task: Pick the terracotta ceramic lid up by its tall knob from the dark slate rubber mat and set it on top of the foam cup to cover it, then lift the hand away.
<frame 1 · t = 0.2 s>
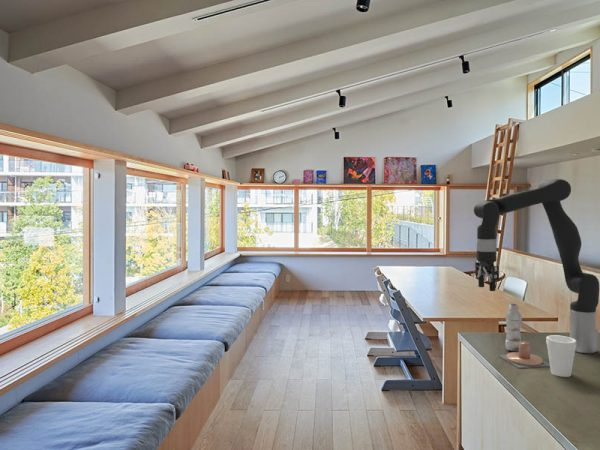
hand: (486, 289, 178), 28 cm above the kitchen island, fingers open, 8 cm apart
lid: (524, 351, 173), on the mat
foam cup: (560, 374, 160), on the kitchen island
mat: (524, 360, 174), on the kitchen island
plastic bottle: (513, 351, 186), on the kitchen island
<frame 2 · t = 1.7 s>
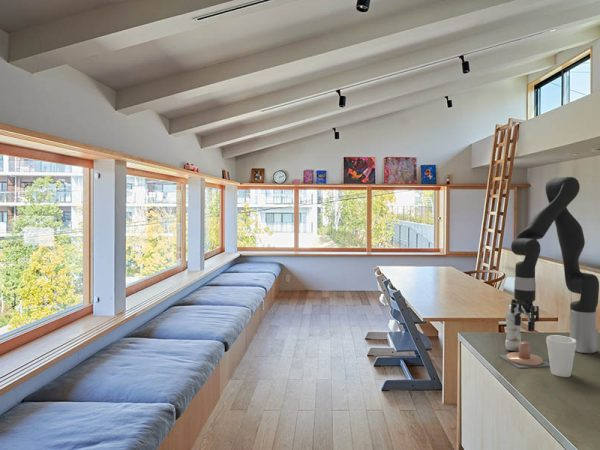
hand: (524, 328, 173), 13 cm above the kitchen island, fingers open, 8 cm apart
nothing on the kitchen island moved.
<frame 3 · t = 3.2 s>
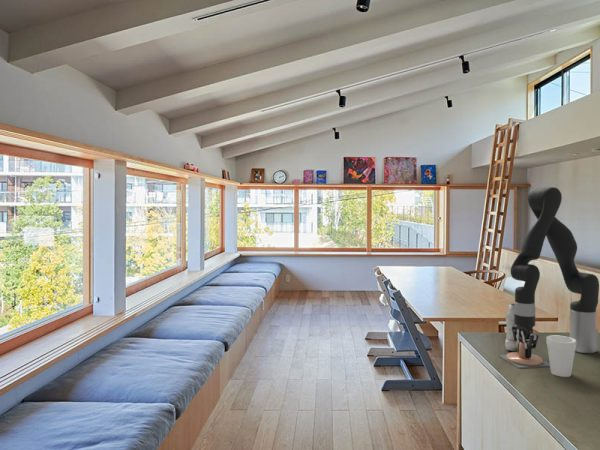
hand: (524, 355, 174), 2 cm above the kitchen island, fingers closed on lid, 4 cm apart
lid: (524, 351, 173), on the mat, touching gripper
everything else where it was.
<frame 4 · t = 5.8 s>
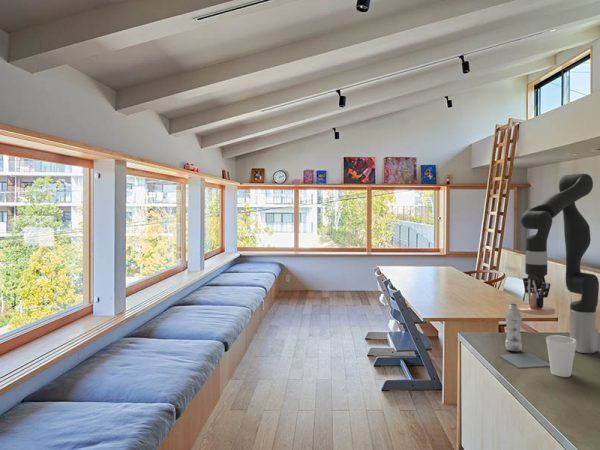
hand: (535, 306, 168), 23 cm above the kitchen island, fingers closed on lid, 4 cm apart
lid: (535, 301, 168), point 25 cm above the kitchen island, touching gripper
everything else where it was.
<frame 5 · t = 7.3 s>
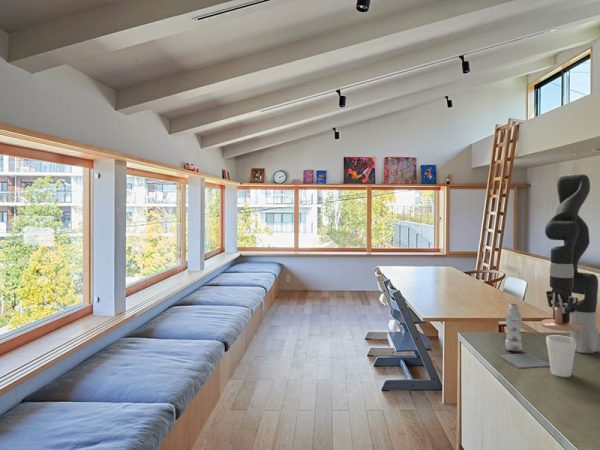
hand: (561, 321, 159), 20 cm above the kitchen island, fingers closed on lid, 4 cm apart
lid: (561, 316, 159), point 21 cm above the kitchen island, touching gripper
everything else where it was.
when the fingers open (16 cm above the kitchen island, at t = 8.4 s): lid drops 1 cm, resting on foam cup.
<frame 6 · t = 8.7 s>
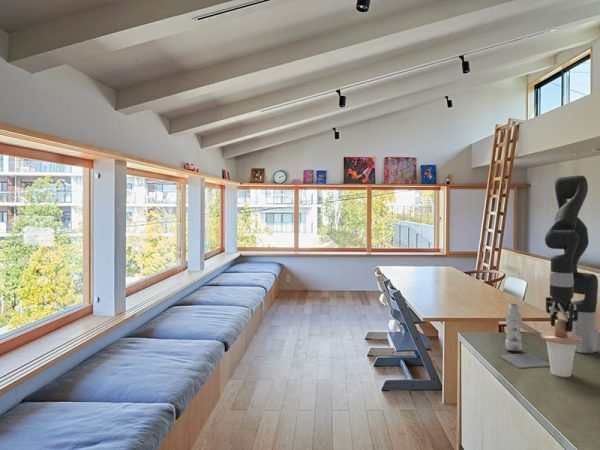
hand: (561, 328, 160), 17 cm above the kitchen island, fingers open, 7 cm apart
lid: (561, 329, 160), point 16 cm above the kitchen island, touching foam cup
foam cup: (560, 374, 160), on the kitchen island, touching lid
everything else where it was.
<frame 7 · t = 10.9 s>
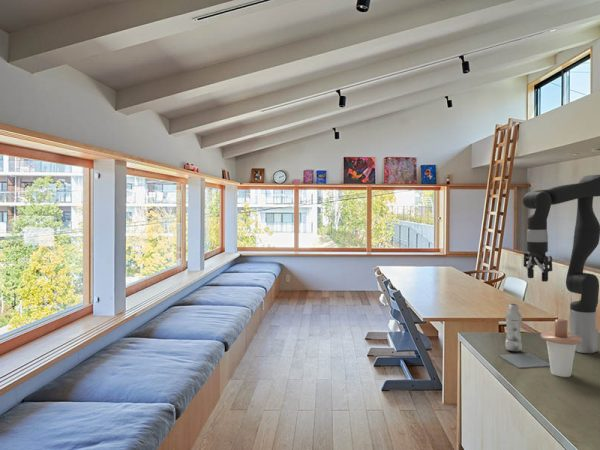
hand: (537, 279, 178), 32 cm above the kitchen island, fingers open, 8 cm apart
nothing on the kitchen island moved.
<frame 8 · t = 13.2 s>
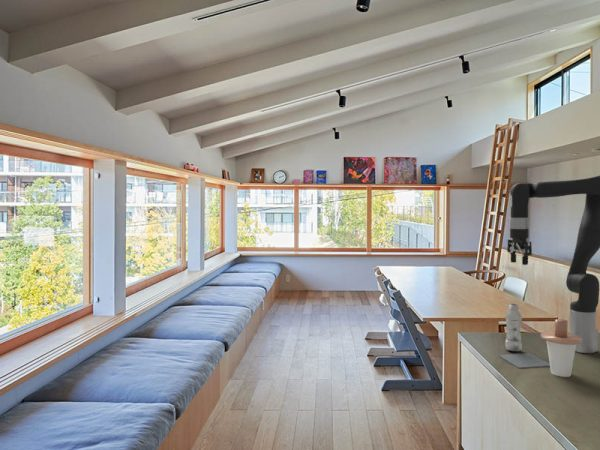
hand: (519, 263, 195), 36 cm above the kitchen island, fingers open, 8 cm apart
nothing on the kitchen island moved.
at the end: lid 0.0 cm from the foam cup (horizontally); lid point 16.5 cm above the kitchen island; foam cup tilted 0° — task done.
